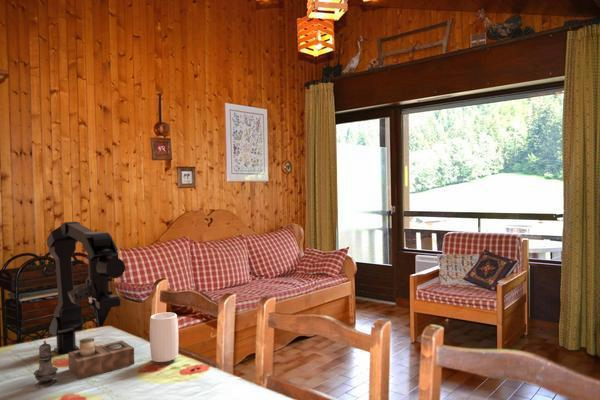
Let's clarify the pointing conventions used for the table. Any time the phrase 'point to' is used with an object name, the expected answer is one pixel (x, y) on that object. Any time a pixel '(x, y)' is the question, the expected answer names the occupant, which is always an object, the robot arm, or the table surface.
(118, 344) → the peg far
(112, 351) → the walnut block
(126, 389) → the table surface
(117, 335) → the table surface
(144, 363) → the table surface
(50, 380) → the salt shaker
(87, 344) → the peg near
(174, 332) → the cup
